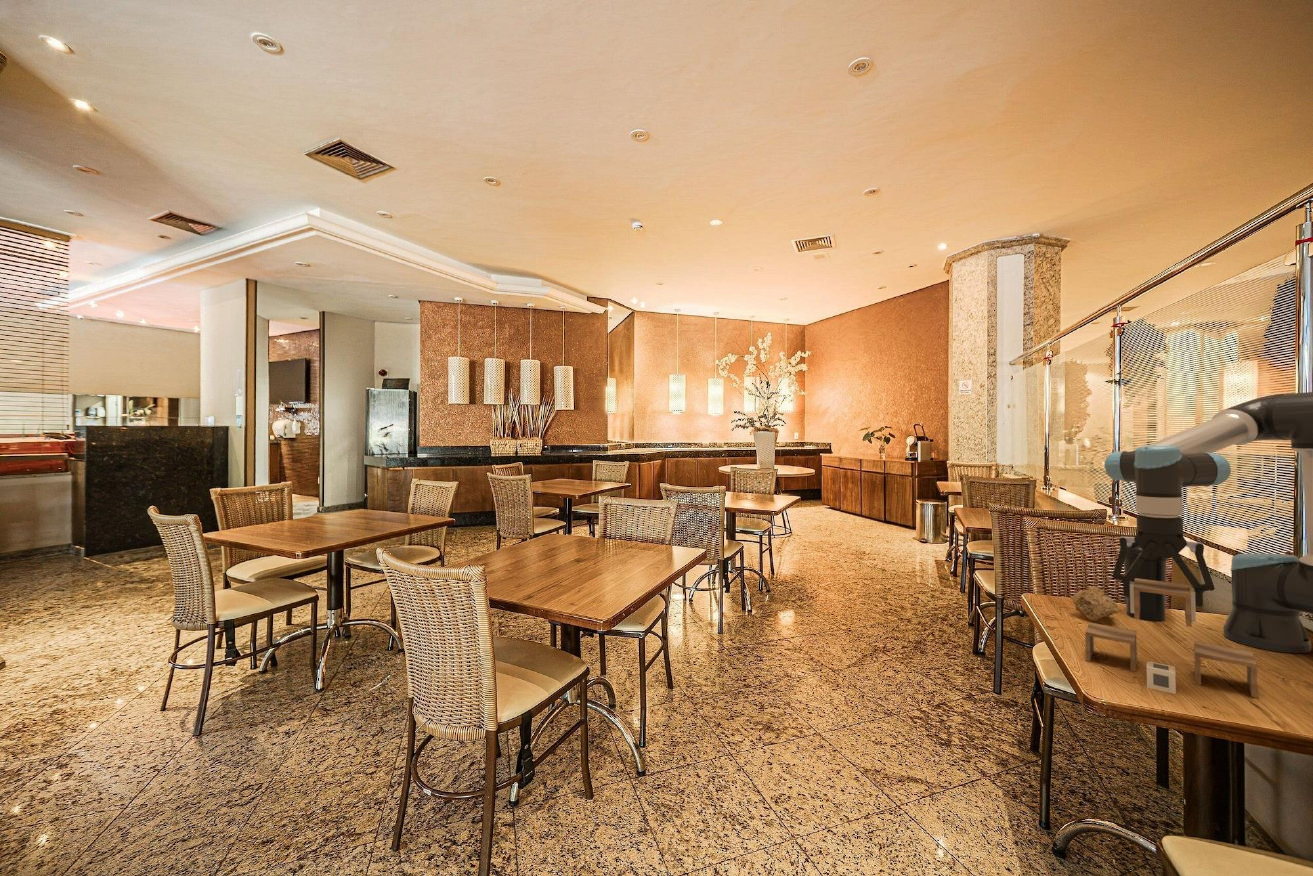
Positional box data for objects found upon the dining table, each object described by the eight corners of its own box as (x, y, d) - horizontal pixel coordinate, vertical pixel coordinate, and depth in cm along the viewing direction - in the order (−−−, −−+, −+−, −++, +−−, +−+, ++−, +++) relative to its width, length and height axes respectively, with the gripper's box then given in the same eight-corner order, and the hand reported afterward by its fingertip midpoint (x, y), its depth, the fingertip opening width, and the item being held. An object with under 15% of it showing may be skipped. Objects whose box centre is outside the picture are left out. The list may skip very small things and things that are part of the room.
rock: (1066, 613, 164) (1066, 581, 164) (1098, 612, 165) (1097, 580, 165) (1101, 627, 152) (1101, 592, 152) (1135, 626, 153) (1134, 591, 153)
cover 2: (1135, 607, 125) (1134, 578, 125) (1189, 615, 119) (1188, 584, 119) (1134, 618, 118) (1133, 586, 118) (1191, 627, 112) (1190, 594, 112)
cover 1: (1089, 649, 137) (1089, 622, 137) (1136, 659, 131) (1136, 630, 131) (1085, 660, 130) (1085, 632, 130) (1135, 671, 124) (1134, 641, 124)
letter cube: (1147, 681, 120) (1147, 660, 120) (1175, 687, 116) (1175, 666, 116) (1147, 688, 116) (1146, 667, 116) (1175, 694, 113) (1175, 673, 113)
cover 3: (1194, 671, 124) (1194, 640, 124) (1252, 682, 117) (1251, 651, 117) (1195, 684, 117) (1195, 652, 117) (1257, 697, 111) (1256, 664, 111)
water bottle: (1178, 623, 154) (1176, 544, 154) (1137, 621, 156) (1135, 543, 156) (1153, 612, 164) (1151, 537, 164) (1115, 610, 166) (1113, 537, 166)
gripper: (1229, 516, 114) (1232, 621, 114) (1097, 509, 129) (1100, 602, 129) (1232, 521, 108) (1236, 631, 108) (1094, 513, 123) (1097, 610, 123)
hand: (1162, 615), depth 119 cm, fingers closed on cover 2, 9 cm apart
